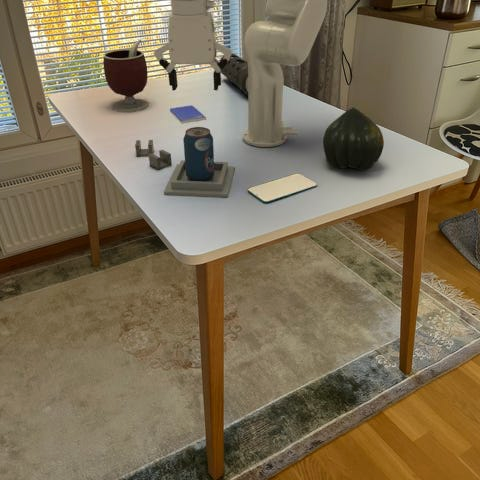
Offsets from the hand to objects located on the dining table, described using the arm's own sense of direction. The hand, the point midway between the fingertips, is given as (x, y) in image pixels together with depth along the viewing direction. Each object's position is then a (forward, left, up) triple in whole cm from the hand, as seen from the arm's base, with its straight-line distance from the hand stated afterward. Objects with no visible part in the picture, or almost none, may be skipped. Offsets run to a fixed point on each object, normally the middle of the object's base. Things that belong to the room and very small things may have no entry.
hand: (195, 88), depth 111 cm
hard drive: (+11, -41, -22) cm, 48 cm away
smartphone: (-21, +7, -22) cm, 31 cm away
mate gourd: (+32, -49, -21) cm, 62 cm away
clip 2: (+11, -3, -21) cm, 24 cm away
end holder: (-1, +5, -21) cm, 22 cm away
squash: (-38, -8, -21) cm, 44 cm away
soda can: (-1, +5, -21) cm, 21 cm away
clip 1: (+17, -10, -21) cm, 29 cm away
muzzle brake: (-4, -71, -22) cm, 74 cm away
